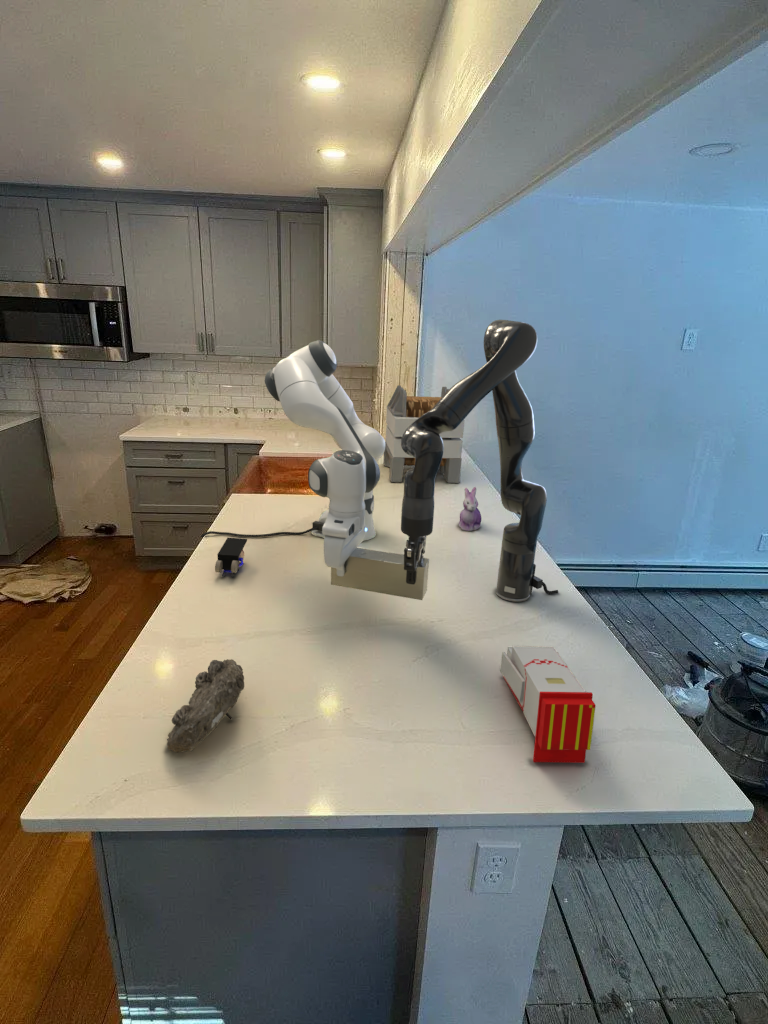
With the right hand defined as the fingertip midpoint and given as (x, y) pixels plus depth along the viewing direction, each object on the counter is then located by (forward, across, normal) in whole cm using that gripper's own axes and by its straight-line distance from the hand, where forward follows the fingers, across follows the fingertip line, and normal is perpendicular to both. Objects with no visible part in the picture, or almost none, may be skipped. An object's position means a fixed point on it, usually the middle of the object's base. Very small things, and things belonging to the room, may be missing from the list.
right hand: (413, 577), depth 138 cm
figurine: (+14, +74, -5) cm, 76 cm away
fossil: (+13, -46, +28) cm, 55 cm away
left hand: (+1, 0, +18) cm, 18 cm away
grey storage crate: (+14, +138, +29) cm, 142 cm away
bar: (+4, 0, +9) cm, 10 cm away
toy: (+13, -24, -32) cm, 42 cm away
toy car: (+13, +12, +57) cm, 60 cm away
